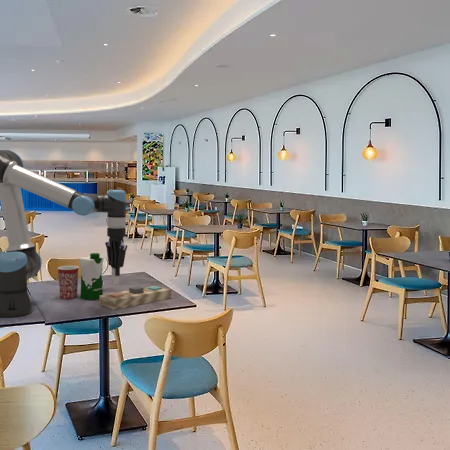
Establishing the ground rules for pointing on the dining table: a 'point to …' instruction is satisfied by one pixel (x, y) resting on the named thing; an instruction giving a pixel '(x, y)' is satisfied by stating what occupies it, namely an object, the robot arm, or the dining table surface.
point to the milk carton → (91, 276)
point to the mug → (68, 281)
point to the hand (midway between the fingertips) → (115, 282)
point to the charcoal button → (136, 290)
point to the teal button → (154, 288)
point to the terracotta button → (116, 295)
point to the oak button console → (134, 298)
